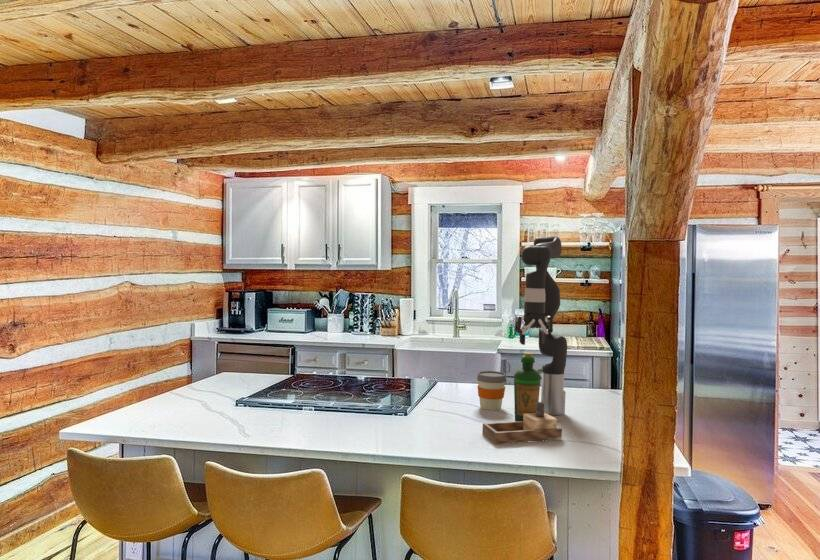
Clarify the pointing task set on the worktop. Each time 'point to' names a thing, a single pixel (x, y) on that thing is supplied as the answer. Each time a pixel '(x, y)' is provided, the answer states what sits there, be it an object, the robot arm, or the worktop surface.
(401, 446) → the worktop surface
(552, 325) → the robot arm
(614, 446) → the worktop surface
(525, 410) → the bottle
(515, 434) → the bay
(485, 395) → the reusable coffee cup
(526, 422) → the light wooden block
